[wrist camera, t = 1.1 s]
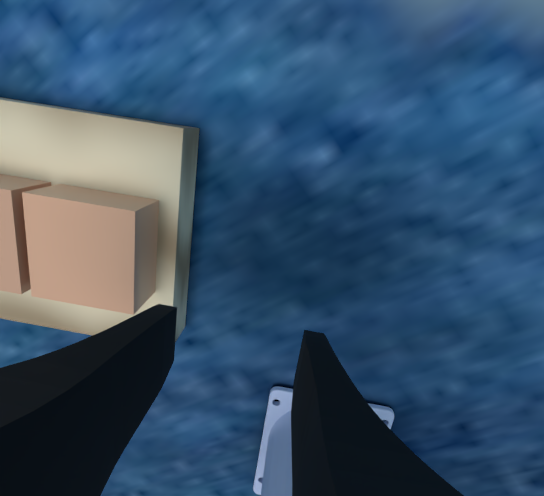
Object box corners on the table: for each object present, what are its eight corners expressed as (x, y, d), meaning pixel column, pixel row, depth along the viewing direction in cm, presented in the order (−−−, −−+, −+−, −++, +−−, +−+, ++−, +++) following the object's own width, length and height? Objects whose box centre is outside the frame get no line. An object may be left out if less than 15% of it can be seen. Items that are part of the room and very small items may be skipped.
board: (185, 326, 22) (170, 349, 20) (4, 293, 23) (-31, 312, 20) (199, 128, 18) (183, 128, 16) (-19, 94, 19) (-66, 89, 17)
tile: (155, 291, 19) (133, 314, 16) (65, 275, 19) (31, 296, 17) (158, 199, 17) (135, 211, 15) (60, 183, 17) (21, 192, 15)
